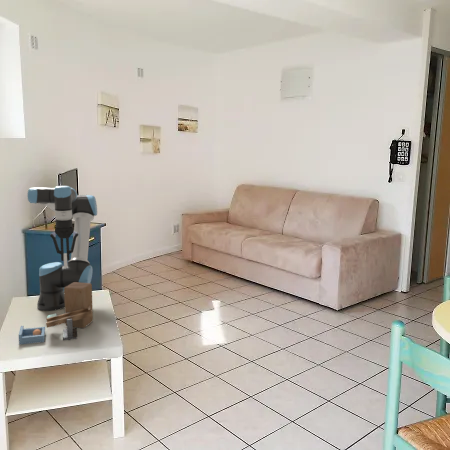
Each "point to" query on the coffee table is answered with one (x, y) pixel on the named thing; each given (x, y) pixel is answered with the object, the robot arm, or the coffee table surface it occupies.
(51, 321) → the lever
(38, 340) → the blue square tray
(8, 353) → the coffee table surface
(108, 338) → the coffee table surface
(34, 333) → the ball
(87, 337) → the coffee table surface
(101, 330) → the coffee table surface
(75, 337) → the fulcrum
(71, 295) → the wooden block
